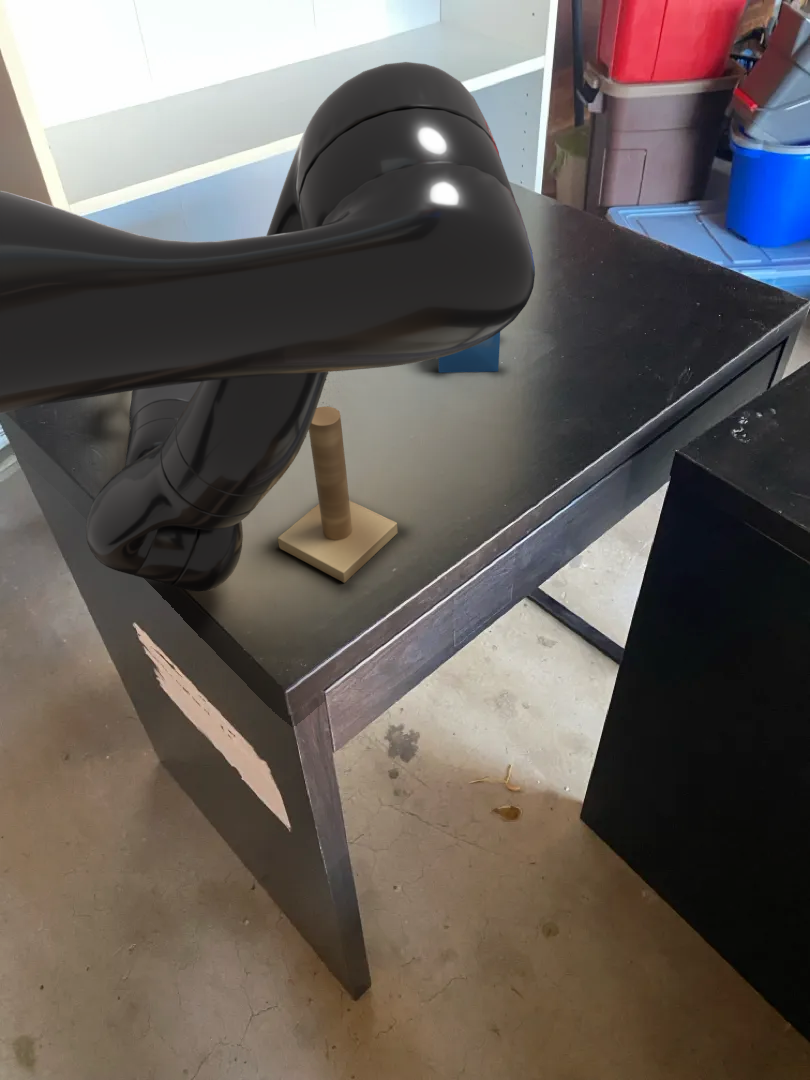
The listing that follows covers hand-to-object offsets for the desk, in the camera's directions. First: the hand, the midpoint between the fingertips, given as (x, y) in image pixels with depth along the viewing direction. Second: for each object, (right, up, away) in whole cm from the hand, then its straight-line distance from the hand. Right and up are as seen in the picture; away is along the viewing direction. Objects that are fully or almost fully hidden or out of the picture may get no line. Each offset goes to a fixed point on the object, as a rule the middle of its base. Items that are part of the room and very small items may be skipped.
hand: (184, 313), depth 82 cm
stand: (+16, -23, -14) cm, 31 cm away
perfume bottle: (+29, -3, +6) cm, 30 cm away
